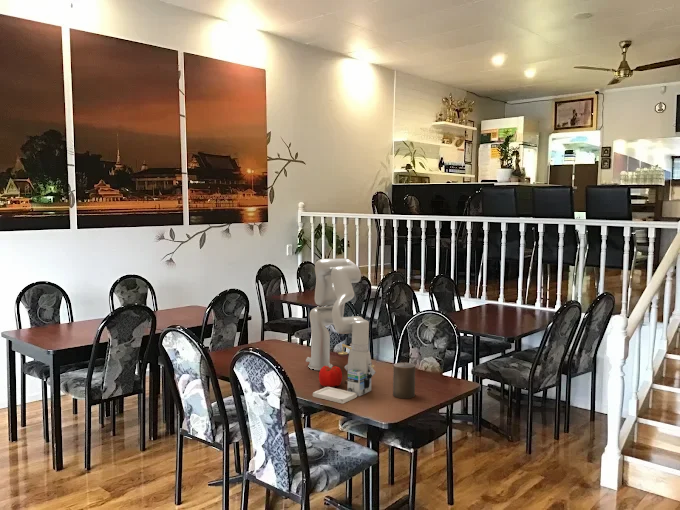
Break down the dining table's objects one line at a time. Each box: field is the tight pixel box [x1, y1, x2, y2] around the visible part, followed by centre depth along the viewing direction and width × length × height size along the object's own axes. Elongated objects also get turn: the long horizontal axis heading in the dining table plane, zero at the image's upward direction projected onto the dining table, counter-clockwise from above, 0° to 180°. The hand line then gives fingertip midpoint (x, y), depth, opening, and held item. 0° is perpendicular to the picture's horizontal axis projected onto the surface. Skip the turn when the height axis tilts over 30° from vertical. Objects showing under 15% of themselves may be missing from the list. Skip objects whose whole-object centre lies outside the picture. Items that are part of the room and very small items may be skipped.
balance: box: [337, 343, 376, 385], centre depth 280 cm, size 20×6×18 cm, turn 55°
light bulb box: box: [346, 369, 372, 397], centre depth 267 cm, size 11×7×11 cm, turn 147°
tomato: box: [318, 365, 343, 388], centre depth 276 cm, size 11×12×9 cm
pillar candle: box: [392, 361, 416, 399], centre depth 263 cm, size 10×10×15 cm
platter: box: [312, 386, 358, 404], centre depth 260 cm, size 16×11×2 cm
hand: (359, 386), depth 267 cm, fingers closed on light bulb box, 6 cm apart
